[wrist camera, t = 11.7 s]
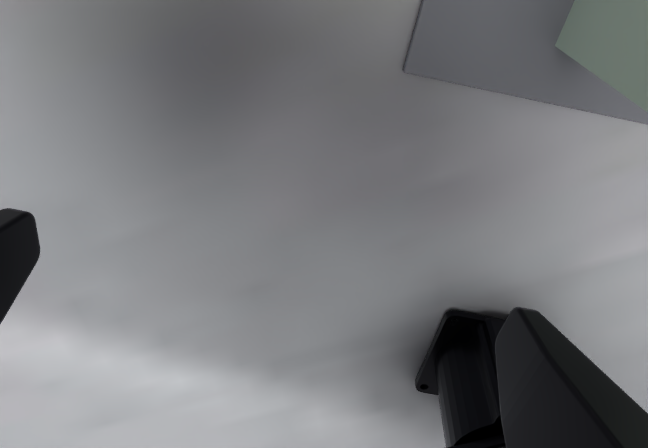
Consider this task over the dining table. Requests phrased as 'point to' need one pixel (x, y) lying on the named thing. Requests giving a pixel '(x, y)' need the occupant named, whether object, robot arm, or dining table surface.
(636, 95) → the green rectangular slab
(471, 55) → the mat
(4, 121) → the dining table surface
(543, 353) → the robot arm
